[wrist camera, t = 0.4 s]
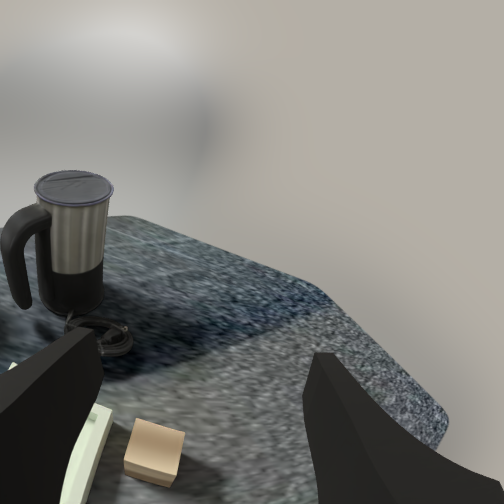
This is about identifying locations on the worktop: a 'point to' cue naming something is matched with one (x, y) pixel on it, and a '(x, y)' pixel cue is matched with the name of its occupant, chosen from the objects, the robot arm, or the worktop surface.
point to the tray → (85, 455)
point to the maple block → (153, 453)
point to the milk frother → (65, 252)
